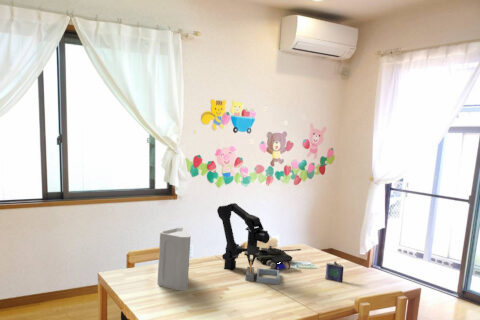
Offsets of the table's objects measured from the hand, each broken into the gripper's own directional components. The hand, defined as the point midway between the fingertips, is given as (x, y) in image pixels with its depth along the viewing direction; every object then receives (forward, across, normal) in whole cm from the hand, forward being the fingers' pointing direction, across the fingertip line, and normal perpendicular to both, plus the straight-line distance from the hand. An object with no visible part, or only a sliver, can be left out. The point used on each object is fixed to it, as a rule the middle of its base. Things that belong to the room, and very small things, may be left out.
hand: (250, 265), depth 200 cm
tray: (+7, +10, 0) cm, 13 cm away
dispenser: (+7, 0, 0) cm, 7 cm away
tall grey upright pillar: (+8, -42, -17) cm, 46 cm away
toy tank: (+8, +18, +33) cm, 39 cm away
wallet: (+8, +50, +7) cm, 51 cm away
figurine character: (+8, +18, +17) cm, 26 cm away
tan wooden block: (+5, 0, 0) cm, 5 cm away
